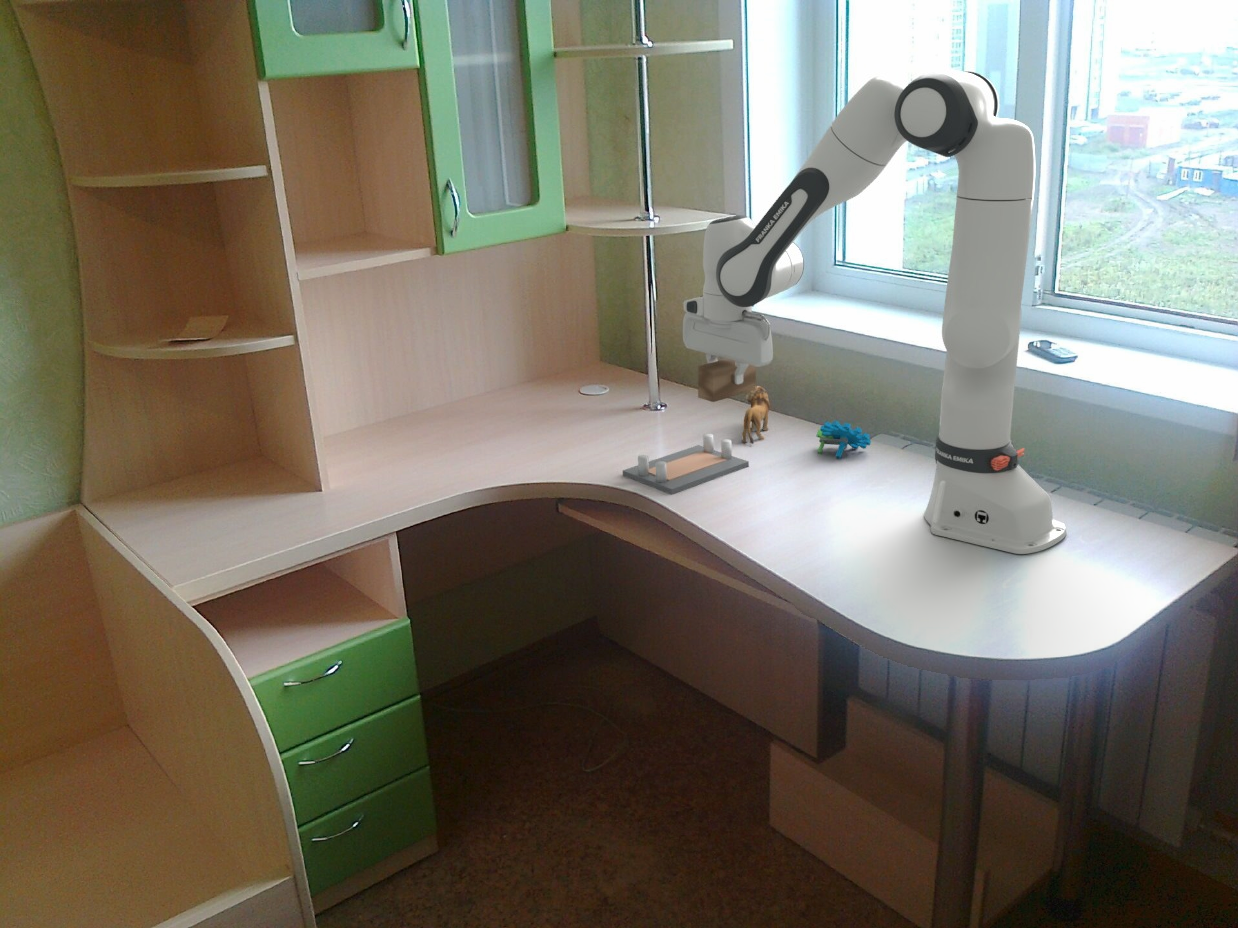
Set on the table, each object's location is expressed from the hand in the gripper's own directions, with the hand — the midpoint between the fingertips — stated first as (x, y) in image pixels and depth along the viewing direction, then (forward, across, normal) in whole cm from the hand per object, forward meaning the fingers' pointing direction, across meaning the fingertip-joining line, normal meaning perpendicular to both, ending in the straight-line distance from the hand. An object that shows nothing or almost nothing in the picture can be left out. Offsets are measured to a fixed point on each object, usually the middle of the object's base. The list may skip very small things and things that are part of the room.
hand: (726, 380), depth 203 cm
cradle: (+18, +6, +5) cm, 20 cm away
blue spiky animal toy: (+18, -9, -23) cm, 31 cm away
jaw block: (+3, 0, 0) cm, 3 cm away
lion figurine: (+18, +11, -20) cm, 29 cm away
